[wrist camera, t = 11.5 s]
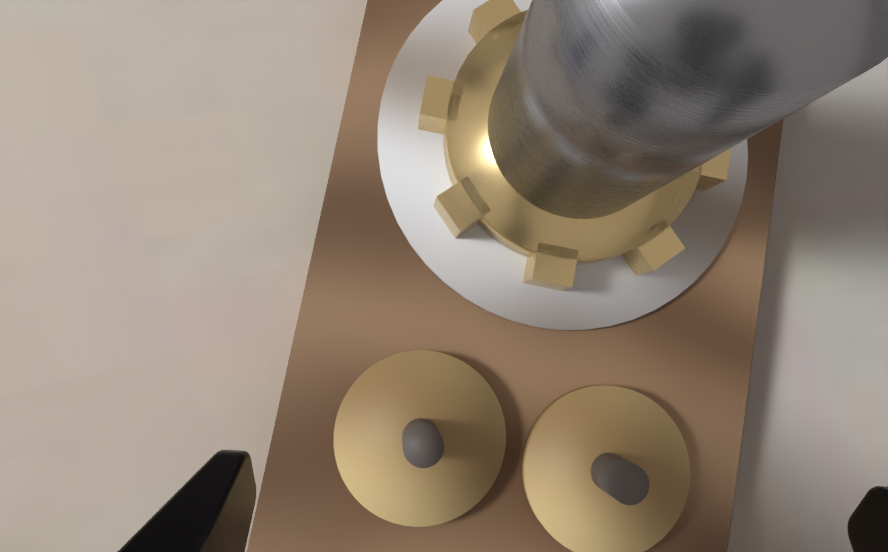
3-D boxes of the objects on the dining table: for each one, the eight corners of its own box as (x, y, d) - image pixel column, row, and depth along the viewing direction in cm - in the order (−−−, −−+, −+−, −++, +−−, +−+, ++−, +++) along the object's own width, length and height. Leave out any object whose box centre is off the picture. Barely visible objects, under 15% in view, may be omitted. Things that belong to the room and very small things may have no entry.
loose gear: (686, 316, 18) (1040, 287, 8) (391, 256, 17) (391, 150, 7) (726, 37, 19) (1083, -286, 9) (449, -27, 18) (514, -444, 8)
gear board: (684, 691, 18) (747, 766, 15) (238, 619, 17) (204, 682, 14) (777, -5, 20) (848, -68, 17) (394, -96, 20) (394, -180, 16)
